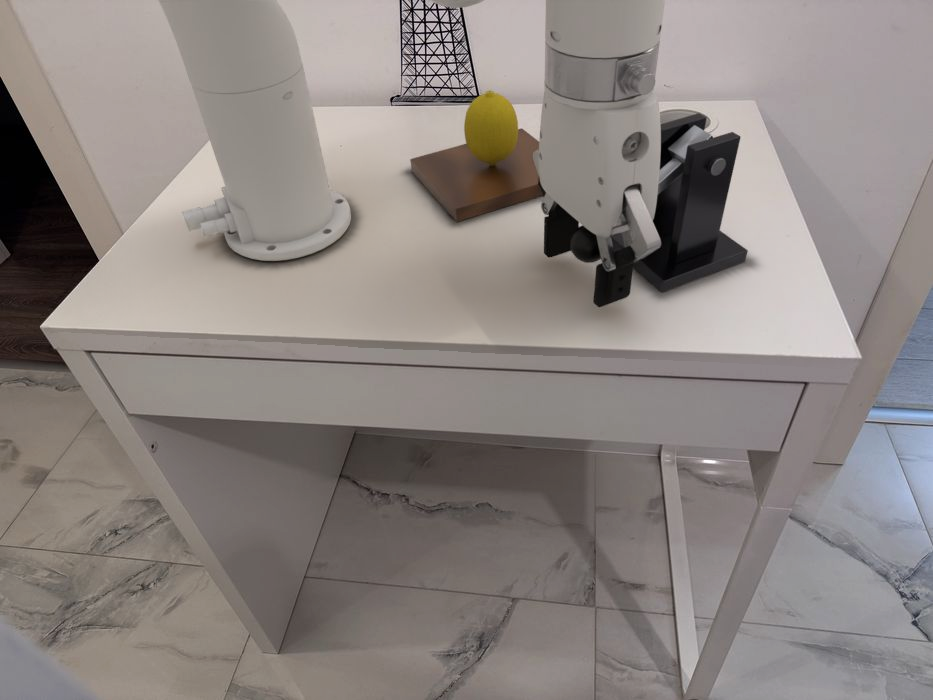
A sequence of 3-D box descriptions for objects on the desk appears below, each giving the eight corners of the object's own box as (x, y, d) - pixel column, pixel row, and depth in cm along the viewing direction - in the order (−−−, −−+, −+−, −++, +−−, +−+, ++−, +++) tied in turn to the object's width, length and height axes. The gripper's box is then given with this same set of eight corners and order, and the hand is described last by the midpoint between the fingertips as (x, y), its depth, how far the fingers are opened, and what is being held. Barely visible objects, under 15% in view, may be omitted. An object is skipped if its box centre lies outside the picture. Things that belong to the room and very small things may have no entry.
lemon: (519, 176, 71) (518, 101, 66) (466, 179, 72) (461, 104, 66) (517, 151, 75) (516, 78, 70) (467, 153, 76) (462, 81, 70)
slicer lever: (592, 276, 57) (577, 255, 55) (572, 257, 59) (556, 235, 57) (725, 161, 56) (715, 133, 53) (699, 145, 58) (688, 118, 56)
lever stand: (662, 292, 59) (683, 166, 51) (608, 246, 64) (620, 125, 56) (745, 261, 61) (778, 136, 53) (687, 219, 67) (709, 99, 59)
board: (456, 222, 69) (455, 209, 68) (411, 171, 77) (409, 158, 76) (577, 184, 73) (577, 171, 71) (522, 140, 81) (521, 128, 80)
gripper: (731, 98, 42) (685, 318, 54) (578, 20, 54) (568, 215, 66) (629, 128, 40) (605, 350, 52) (492, 40, 52) (499, 238, 64)
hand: (584, 274), depth 59 cm, fingers open, 7 cm apart
